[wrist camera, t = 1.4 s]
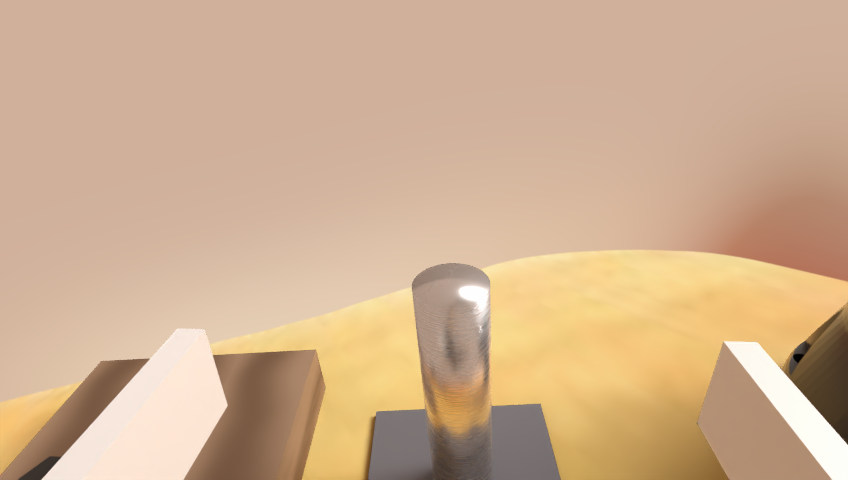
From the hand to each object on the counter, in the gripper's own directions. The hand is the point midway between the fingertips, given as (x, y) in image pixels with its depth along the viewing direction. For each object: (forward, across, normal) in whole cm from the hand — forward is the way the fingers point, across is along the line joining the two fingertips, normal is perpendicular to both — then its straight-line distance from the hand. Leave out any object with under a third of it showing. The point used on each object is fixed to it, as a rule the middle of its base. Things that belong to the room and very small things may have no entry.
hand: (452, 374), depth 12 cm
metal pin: (+10, 0, -18) cm, 20 cm away
